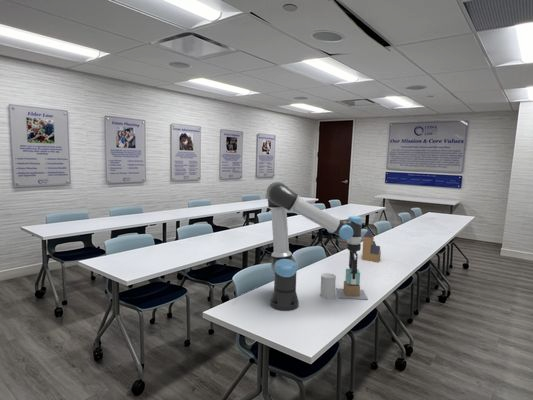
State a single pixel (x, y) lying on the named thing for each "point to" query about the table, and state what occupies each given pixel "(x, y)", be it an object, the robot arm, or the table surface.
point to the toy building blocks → (370, 248)
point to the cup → (327, 285)
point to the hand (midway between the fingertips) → (352, 281)
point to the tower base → (341, 293)
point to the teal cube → (348, 277)
